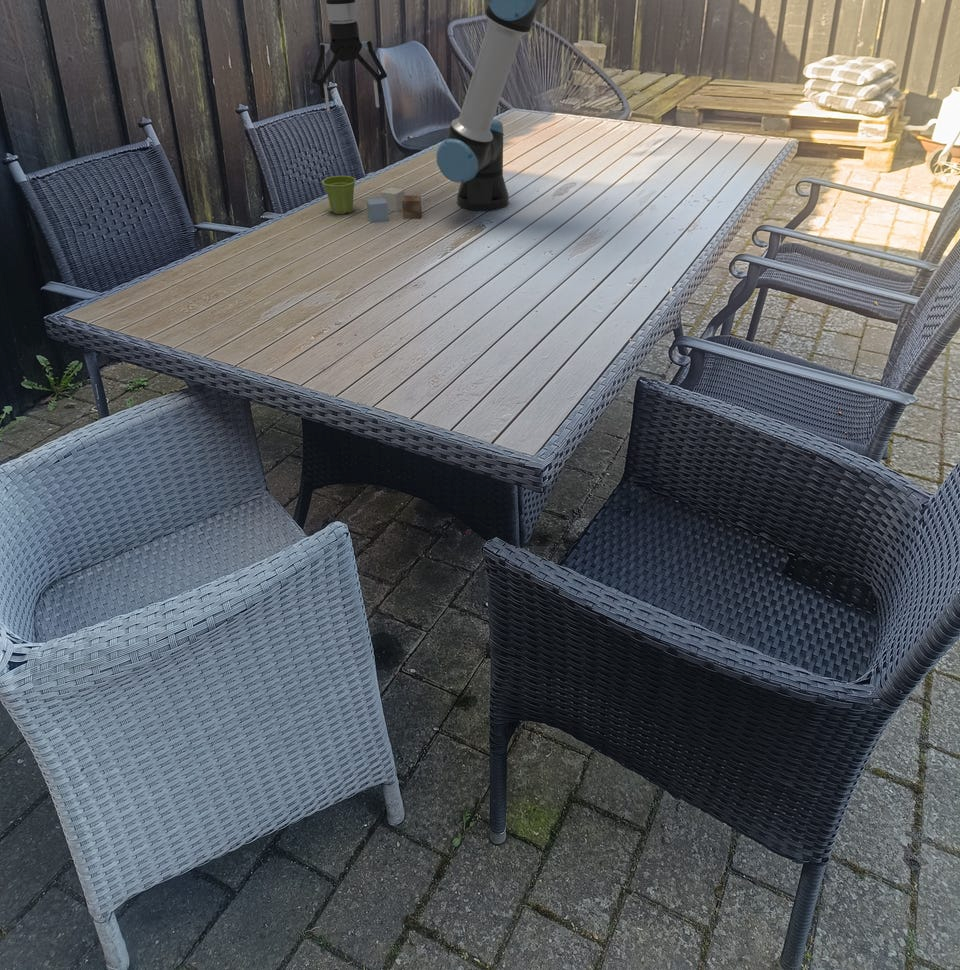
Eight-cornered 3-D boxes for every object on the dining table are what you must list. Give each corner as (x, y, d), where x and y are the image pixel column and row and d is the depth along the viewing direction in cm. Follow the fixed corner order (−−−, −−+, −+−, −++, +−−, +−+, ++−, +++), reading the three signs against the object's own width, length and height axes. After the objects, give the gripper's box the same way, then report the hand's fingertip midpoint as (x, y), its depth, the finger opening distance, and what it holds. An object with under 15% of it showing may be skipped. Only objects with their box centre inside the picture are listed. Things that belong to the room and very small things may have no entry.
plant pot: (352, 217, 238) (349, 186, 233) (321, 215, 240) (317, 184, 235) (362, 207, 246) (360, 176, 240) (332, 205, 247) (328, 174, 242)
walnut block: (421, 212, 241) (420, 195, 238) (420, 218, 237) (419, 200, 234) (404, 213, 241) (403, 195, 238) (403, 218, 237) (402, 201, 234)
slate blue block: (385, 215, 240) (383, 197, 237) (388, 221, 236) (387, 203, 233) (367, 217, 238) (366, 199, 236) (370, 222, 235) (369, 204, 232)
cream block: (405, 206, 246) (404, 189, 243) (397, 211, 242) (395, 194, 239) (390, 204, 247) (389, 187, 245) (381, 209, 244) (380, 192, 241)
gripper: (389, 16, 225) (396, 102, 237) (294, 22, 222) (307, 109, 234) (391, 20, 219) (399, 107, 231) (294, 26, 216) (307, 114, 228)
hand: (353, 108), depth 233 cm, fingers open, 13 cm apart
